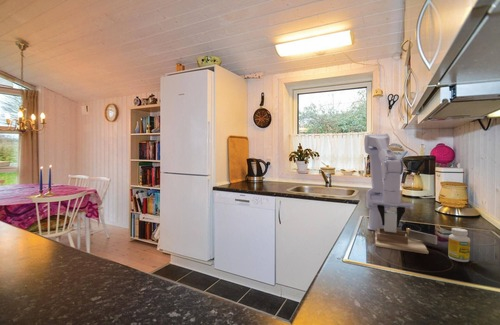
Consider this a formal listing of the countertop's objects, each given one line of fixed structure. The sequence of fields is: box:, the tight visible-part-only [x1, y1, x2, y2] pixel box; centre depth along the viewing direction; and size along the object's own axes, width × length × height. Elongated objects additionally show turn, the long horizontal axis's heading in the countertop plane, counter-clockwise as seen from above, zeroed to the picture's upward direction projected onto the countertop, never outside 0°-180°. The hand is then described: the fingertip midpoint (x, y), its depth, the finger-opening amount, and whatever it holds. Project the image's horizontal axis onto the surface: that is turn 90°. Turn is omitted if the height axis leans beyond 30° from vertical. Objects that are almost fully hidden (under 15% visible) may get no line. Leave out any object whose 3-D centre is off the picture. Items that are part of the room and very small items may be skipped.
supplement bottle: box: [447, 227, 471, 263], centre depth 81 cm, size 5×5×10 cm
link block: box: [384, 211, 398, 233], centre depth 97 cm, size 4×4×7 cm
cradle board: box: [374, 228, 429, 255], centre depth 96 cm, size 18×16×3 cm
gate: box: [405, 227, 438, 246], centre depth 95 cm, size 10×1×3 cm, turn 34°
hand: (390, 225), depth 97 cm, fingers closed on link block, 4 cm apart
